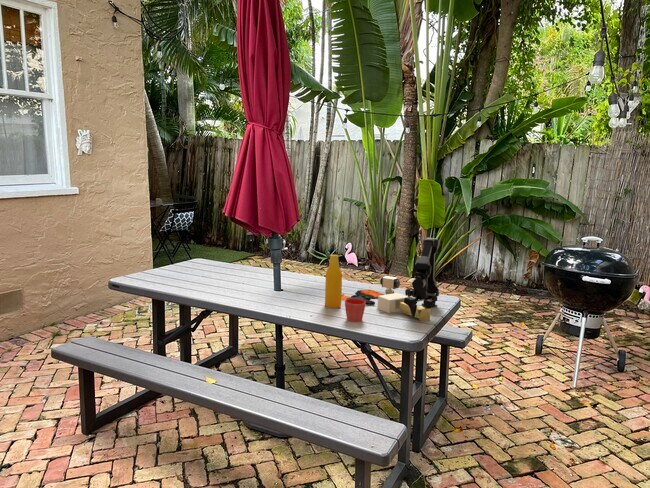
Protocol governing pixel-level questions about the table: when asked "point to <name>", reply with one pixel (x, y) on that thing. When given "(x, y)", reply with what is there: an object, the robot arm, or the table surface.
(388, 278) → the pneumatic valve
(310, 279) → the table surface
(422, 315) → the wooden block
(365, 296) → the pair of gloves
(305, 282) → the table surface
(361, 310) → the flower pot
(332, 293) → the beer bottle
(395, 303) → the block
